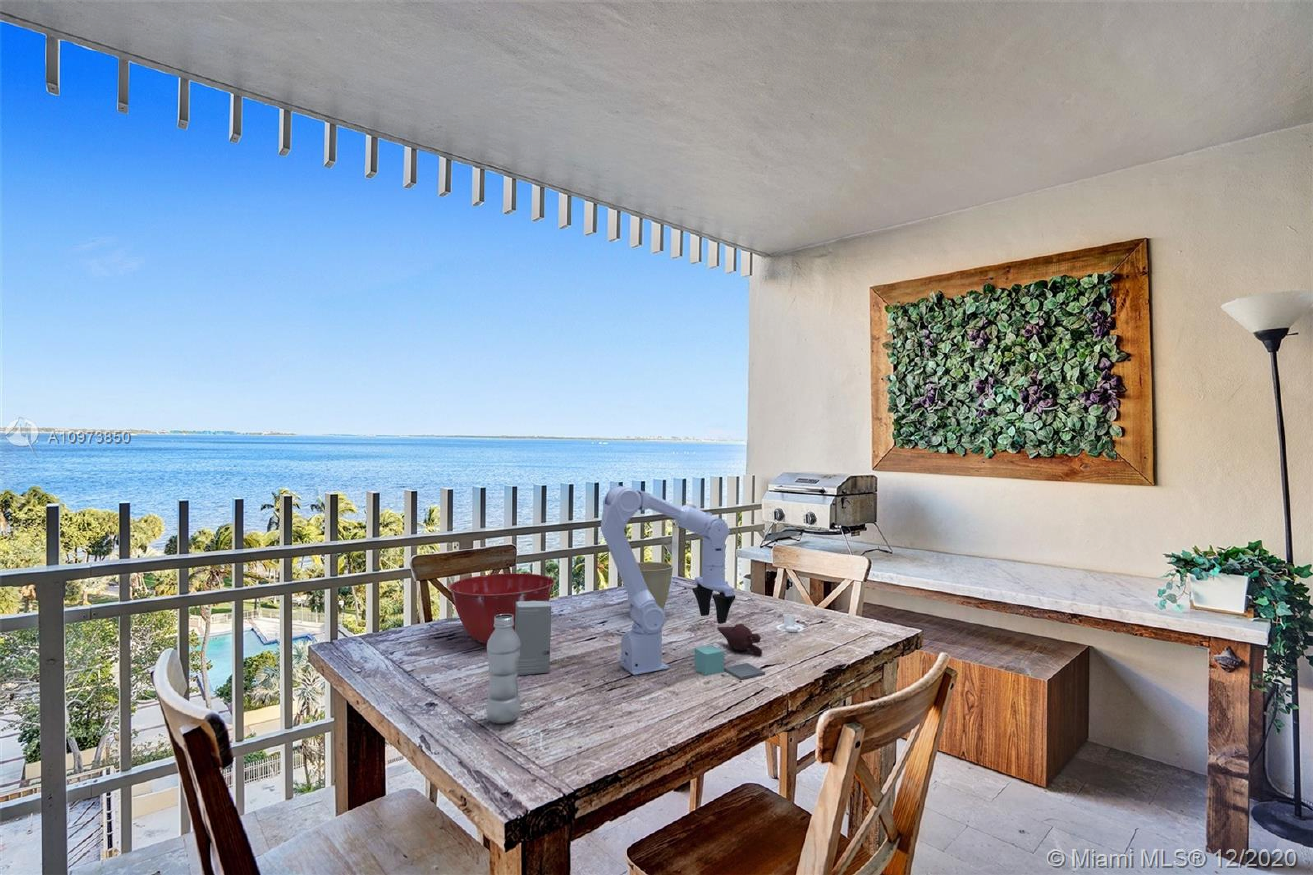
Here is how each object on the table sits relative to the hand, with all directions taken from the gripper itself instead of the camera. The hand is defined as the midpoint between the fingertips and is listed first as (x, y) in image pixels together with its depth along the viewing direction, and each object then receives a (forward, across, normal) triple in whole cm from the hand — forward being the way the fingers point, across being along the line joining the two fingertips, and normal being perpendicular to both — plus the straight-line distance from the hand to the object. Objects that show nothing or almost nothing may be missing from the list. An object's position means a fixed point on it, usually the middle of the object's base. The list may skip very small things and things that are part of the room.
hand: (713, 619), depth 153 cm
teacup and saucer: (+10, +11, -32) cm, 35 cm away
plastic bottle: (+10, -10, +55) cm, 57 cm away
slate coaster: (+10, -11, -1) cm, 15 cm away
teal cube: (+10, -6, +5) cm, 13 cm away
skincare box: (+10, +14, +42) cm, 46 cm away
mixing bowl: (+10, +42, +42) cm, 60 cm away
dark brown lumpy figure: (+10, +2, -10) cm, 14 cm away
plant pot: (+10, +42, -4) cm, 43 cm away
